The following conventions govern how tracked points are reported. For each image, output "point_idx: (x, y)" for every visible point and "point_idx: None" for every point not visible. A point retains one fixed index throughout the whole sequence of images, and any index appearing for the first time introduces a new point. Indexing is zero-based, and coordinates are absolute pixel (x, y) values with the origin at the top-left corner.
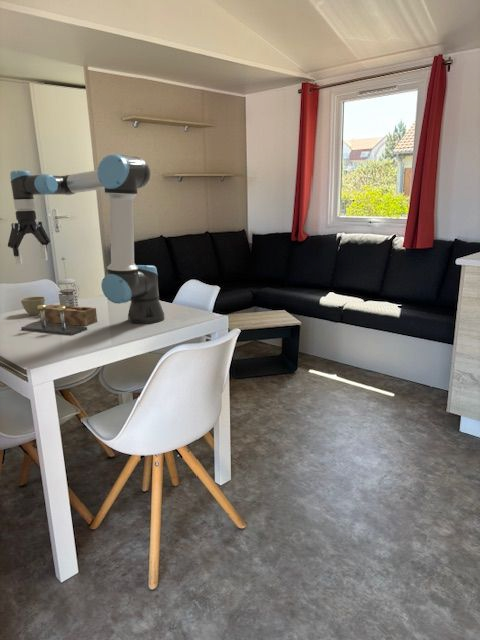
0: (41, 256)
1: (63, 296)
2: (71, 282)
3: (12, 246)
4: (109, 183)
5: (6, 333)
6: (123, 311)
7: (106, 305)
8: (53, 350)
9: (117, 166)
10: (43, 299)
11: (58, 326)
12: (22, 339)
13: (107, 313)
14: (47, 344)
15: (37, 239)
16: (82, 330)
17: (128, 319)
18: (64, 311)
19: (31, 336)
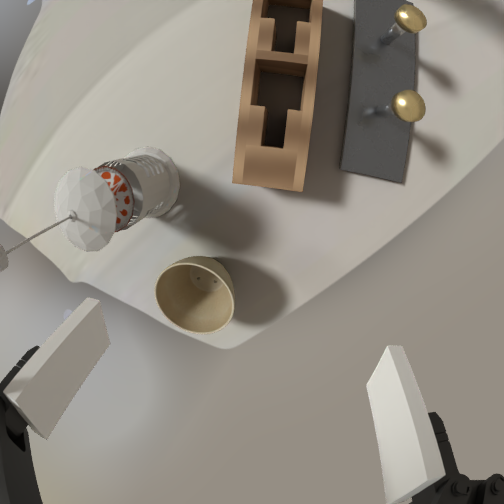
0: (94, 362)
1: (144, 190)
2: (86, 170)
3: (501, 477)
4: None
5: (433, 201)
6: (122, 17)
7: (66, 124)
8: (495, 22)
9: None
10: (182, 262)
11: (373, 63)
12: (470, 120)
13: (150, 38)
14: (479, 43)
15: (38, 494)
16: None
17: None
18: (317, 61)
19: (448, 109)
